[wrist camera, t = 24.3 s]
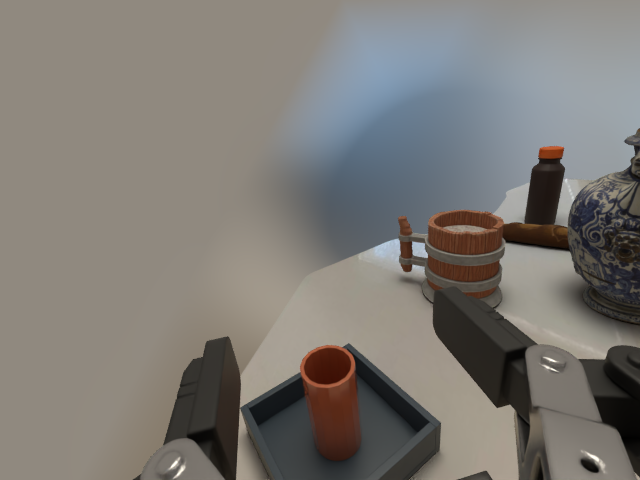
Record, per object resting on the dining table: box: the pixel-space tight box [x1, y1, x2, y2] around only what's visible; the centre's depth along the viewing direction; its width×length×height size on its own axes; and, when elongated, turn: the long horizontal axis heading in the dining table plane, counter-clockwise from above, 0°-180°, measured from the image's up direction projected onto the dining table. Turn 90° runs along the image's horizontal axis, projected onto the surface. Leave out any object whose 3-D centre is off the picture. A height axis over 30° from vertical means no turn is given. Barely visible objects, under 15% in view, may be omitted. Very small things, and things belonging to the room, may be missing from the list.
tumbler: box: [300, 345, 362, 461], centre depth 34 cm, size 6×6×11 cm
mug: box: [398, 210, 505, 308], centre depth 58 cm, size 14×19×15 cm
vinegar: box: [525, 146, 565, 225], centre depth 80 cm, size 7×7×20 cm
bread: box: [502, 222, 570, 249], centre depth 72 cm, size 38×5×5 cm, turn 53°
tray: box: [240, 343, 441, 480], centre depth 35 cm, size 17×16×4 cm
